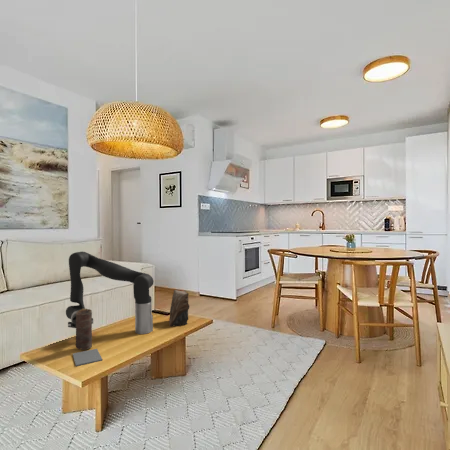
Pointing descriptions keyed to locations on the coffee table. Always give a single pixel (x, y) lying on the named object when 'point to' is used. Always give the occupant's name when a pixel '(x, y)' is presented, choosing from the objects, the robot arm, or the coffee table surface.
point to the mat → (86, 357)
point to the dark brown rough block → (179, 309)
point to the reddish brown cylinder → (84, 329)
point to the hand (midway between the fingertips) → (83, 327)
